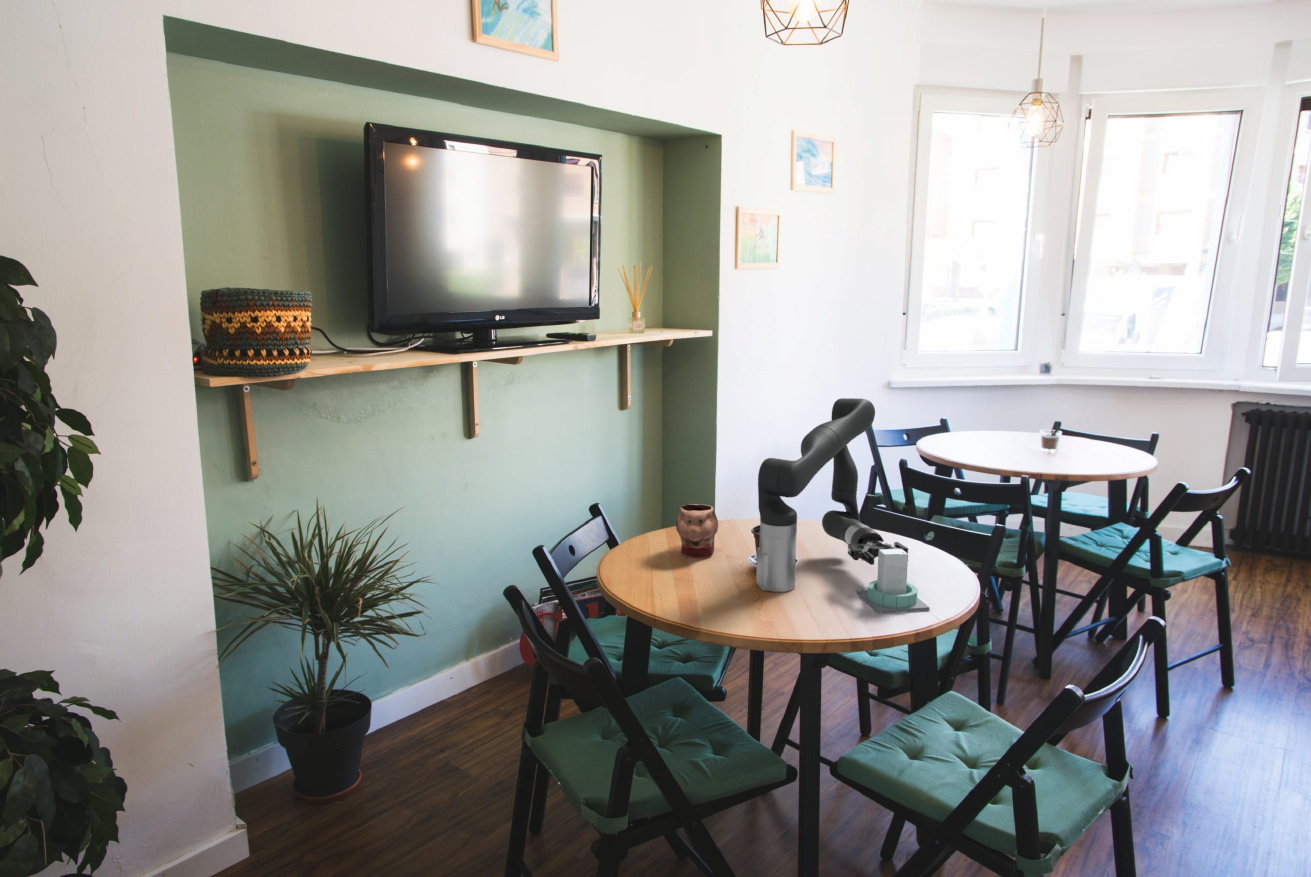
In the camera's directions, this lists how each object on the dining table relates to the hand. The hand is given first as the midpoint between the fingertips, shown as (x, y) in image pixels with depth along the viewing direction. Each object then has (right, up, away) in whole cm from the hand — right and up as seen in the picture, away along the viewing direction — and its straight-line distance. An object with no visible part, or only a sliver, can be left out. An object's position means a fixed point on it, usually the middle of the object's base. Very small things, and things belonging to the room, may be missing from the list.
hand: (889, 560), depth 197 cm
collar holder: (0, -10, -1) cm, 10 cm away
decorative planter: (-45, -3, +37) cm, 58 cm away
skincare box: (0, -9, -1) cm, 9 cm away
